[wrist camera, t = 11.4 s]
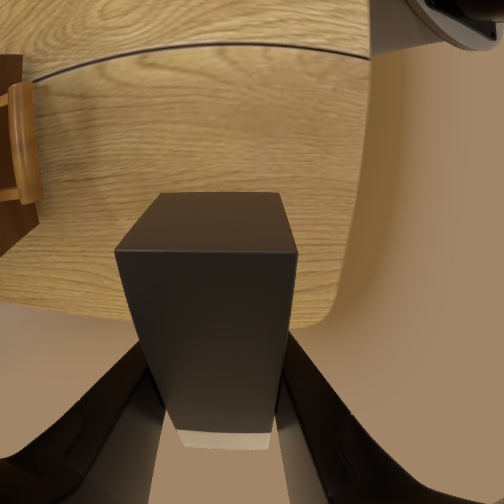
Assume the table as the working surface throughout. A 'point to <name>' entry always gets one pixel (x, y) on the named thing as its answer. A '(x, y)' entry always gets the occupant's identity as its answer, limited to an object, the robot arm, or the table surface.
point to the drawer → (17, 155)
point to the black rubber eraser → (213, 310)
